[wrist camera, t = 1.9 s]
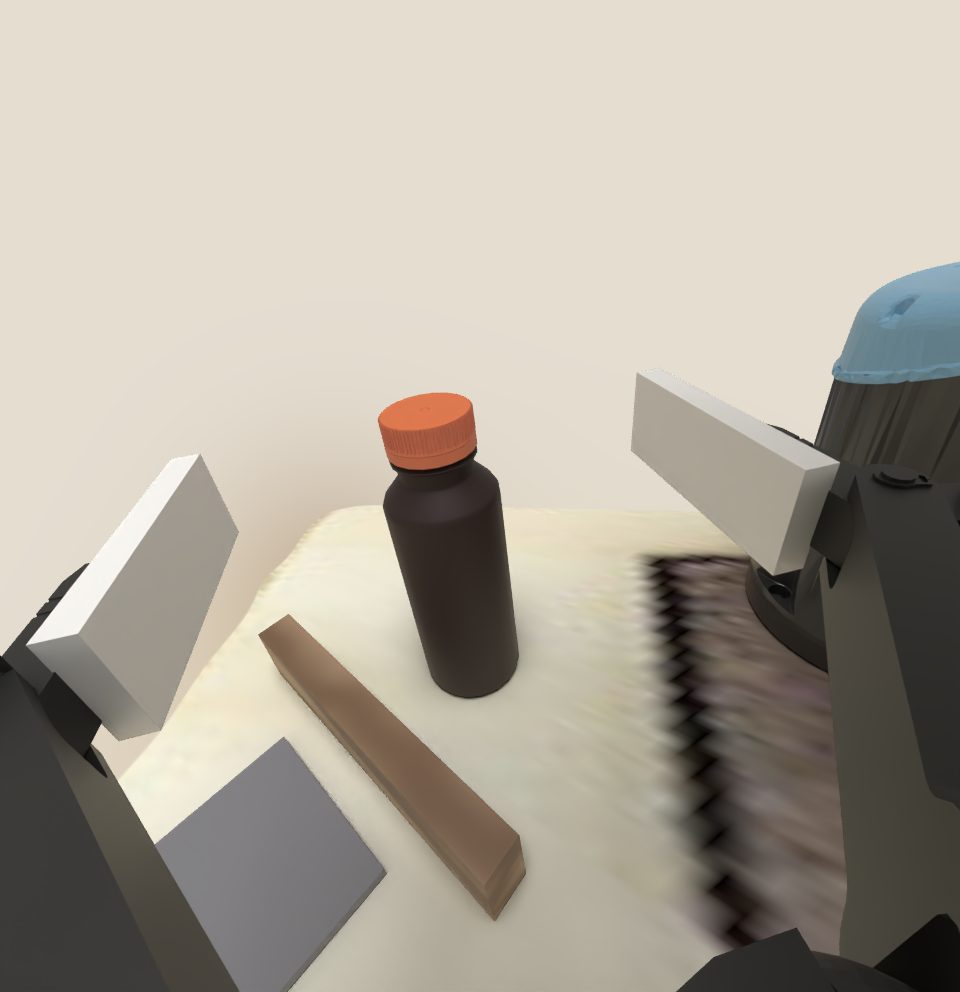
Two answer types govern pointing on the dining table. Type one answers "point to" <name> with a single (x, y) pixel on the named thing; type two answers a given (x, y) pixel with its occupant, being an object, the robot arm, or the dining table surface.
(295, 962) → the pad
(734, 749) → the dining table surface
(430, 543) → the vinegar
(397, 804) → the door rail
